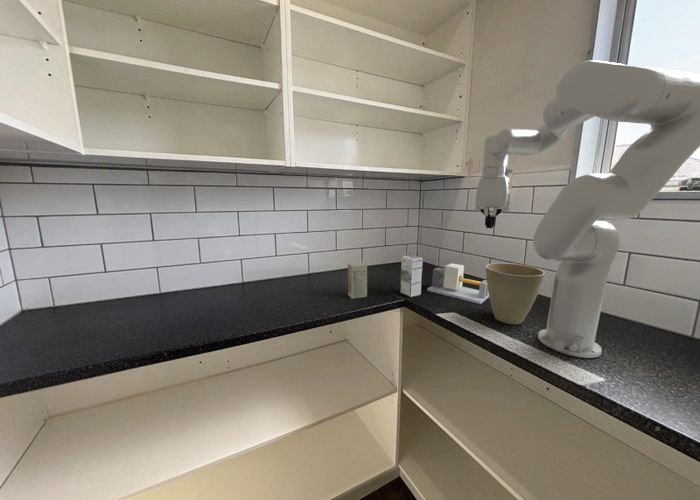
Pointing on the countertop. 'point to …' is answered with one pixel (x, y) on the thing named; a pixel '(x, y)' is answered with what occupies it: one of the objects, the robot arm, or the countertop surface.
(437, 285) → the grey rod holder
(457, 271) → the slotted white cube
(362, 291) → the skincare box
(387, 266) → the countertop surface
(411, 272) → the syrup box
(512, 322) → the plant pot
